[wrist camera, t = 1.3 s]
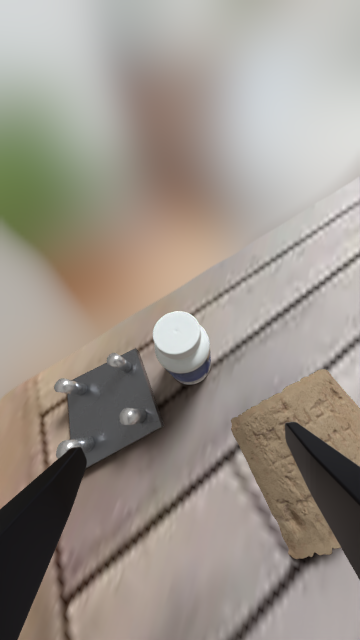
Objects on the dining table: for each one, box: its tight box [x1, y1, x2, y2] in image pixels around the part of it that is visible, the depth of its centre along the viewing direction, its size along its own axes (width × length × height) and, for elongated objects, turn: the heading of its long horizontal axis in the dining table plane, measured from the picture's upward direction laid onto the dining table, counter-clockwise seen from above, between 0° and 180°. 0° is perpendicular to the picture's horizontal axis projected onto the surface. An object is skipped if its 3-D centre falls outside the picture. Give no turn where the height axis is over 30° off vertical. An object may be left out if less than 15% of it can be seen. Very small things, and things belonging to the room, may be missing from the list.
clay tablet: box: [231, 369, 360, 559], centre depth 15 cm, size 14×10×3 cm
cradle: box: [54, 348, 164, 469], centre depth 19 cm, size 10×10×5 cm
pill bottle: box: [153, 311, 211, 385], centre depth 18 cm, size 5×5×10 cm
